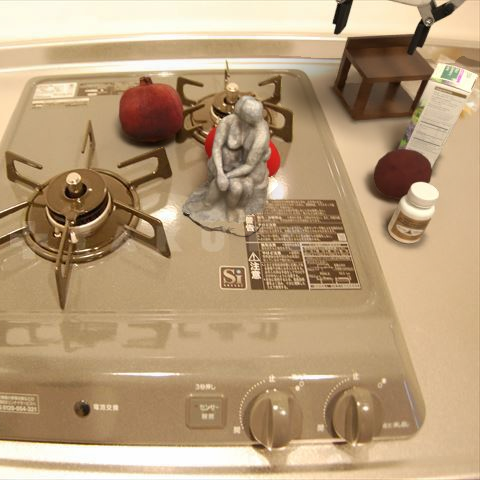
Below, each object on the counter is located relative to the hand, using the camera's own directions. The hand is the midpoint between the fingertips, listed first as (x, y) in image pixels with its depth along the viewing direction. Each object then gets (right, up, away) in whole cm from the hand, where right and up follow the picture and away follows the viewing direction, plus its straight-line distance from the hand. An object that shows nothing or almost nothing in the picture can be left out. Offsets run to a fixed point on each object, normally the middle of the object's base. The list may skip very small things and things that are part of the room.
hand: (374, 40), depth 72 cm
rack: (+10, -2, +25) cm, 27 cm away
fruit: (-29, -11, +15) cm, 34 cm away
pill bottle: (+5, -25, +3) cm, 26 cm away
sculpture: (-25, -17, -3) cm, 30 cm away
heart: (-17, -11, +3) cm, 20 cm away
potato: (+6, -19, +9) cm, 22 cm away
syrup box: (+12, -14, +14) cm, 23 cm away
